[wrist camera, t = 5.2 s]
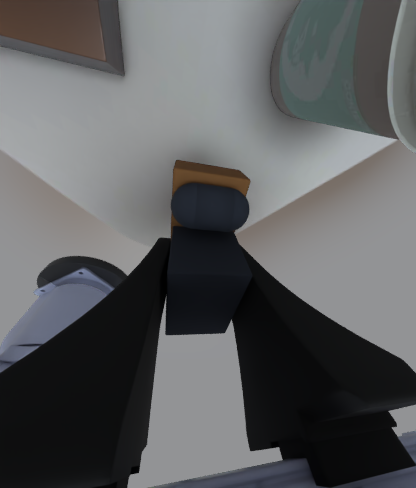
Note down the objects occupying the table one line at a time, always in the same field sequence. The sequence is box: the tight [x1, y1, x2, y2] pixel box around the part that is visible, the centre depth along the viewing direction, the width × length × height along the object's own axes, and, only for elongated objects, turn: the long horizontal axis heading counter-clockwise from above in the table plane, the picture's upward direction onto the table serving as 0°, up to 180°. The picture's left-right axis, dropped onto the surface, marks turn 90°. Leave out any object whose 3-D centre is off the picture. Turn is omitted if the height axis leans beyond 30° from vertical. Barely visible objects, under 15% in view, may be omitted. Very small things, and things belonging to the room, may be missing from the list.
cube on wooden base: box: [165, 160, 252, 335], centre depth 8 cm, size 7×3×5 cm, turn 170°
